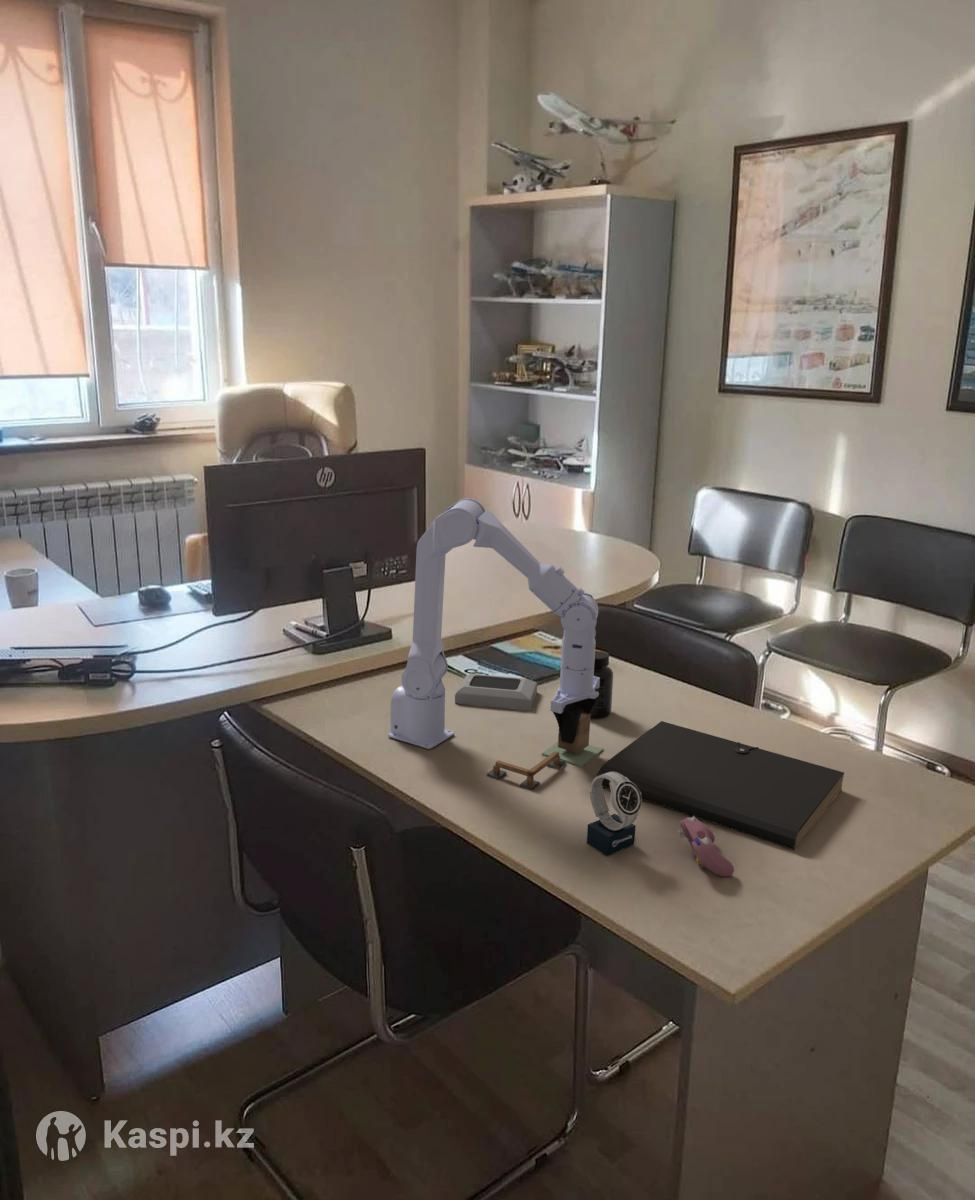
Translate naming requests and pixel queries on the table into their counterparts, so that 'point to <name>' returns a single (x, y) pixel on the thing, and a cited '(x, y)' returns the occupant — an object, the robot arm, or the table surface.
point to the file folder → (727, 782)
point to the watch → (613, 829)
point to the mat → (575, 754)
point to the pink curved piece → (705, 847)
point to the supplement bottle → (603, 685)
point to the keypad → (497, 691)
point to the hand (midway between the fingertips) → (573, 737)
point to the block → (578, 735)
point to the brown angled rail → (529, 783)
